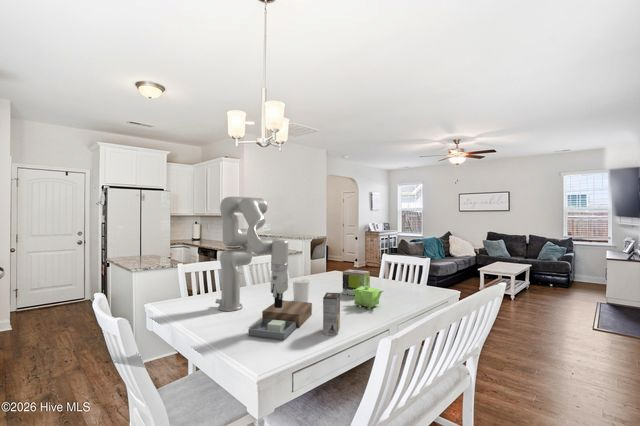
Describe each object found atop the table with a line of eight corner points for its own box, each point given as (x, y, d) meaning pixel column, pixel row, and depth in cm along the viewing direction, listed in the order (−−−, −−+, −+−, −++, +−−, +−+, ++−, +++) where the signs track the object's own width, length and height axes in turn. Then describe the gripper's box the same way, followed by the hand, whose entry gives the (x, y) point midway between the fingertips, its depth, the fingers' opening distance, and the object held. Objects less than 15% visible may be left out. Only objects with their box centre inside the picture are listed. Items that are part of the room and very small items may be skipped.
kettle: (384, 309, 177) (384, 288, 177) (359, 311, 174) (359, 290, 174) (373, 301, 192) (373, 282, 192) (350, 303, 189) (350, 283, 189)
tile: (273, 319, 148) (272, 326, 148) (267, 324, 142) (267, 330, 142) (285, 320, 146) (285, 327, 146) (280, 325, 140) (280, 332, 140)
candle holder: (311, 302, 189) (312, 281, 189) (295, 304, 185) (295, 283, 185) (306, 298, 198) (306, 278, 198) (290, 300, 194) (290, 279, 194)
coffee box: (325, 327, 149) (326, 291, 149) (340, 328, 148) (340, 292, 148) (322, 334, 140) (322, 297, 140) (337, 335, 139) (337, 297, 139)
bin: (248, 336, 137) (248, 329, 137) (262, 325, 151) (262, 318, 151) (284, 340, 133) (284, 333, 133) (295, 328, 146) (295, 322, 146)
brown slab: (262, 323, 152) (262, 311, 152) (278, 311, 172) (278, 300, 172) (299, 327, 148) (299, 314, 148) (311, 314, 167) (311, 302, 167)
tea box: (370, 294, 211) (370, 271, 210) (363, 297, 202) (363, 273, 202) (349, 291, 219) (349, 268, 218) (341, 294, 210) (342, 270, 210)
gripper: (280, 270, 140) (279, 313, 141) (292, 265, 155) (291, 303, 155) (264, 269, 142) (263, 311, 143) (278, 263, 157) (277, 302, 157)
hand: (278, 307), depth 149 cm, fingers closed
